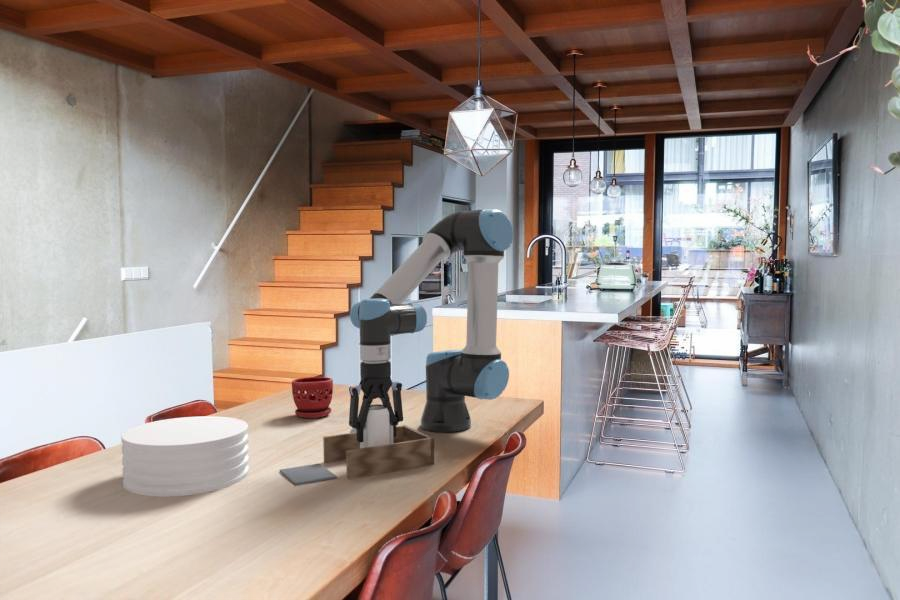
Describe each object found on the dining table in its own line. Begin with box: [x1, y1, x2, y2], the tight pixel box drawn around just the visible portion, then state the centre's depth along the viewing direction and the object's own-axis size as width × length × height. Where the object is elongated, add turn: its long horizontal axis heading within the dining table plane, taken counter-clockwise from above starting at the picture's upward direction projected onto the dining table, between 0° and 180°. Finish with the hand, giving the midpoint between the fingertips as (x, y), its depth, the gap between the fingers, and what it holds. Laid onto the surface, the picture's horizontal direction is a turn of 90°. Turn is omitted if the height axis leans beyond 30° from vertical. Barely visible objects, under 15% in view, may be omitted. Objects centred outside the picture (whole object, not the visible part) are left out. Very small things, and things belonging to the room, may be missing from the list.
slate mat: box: [279, 463, 338, 486], centre depth 173 cm, size 10×12×1 cm
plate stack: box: [120, 415, 250, 497], centre depth 172 cm, size 28×28×12 cm
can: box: [364, 403, 390, 447], centre depth 181 cm, size 6×6×12 cm
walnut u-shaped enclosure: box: [322, 424, 435, 480], centre depth 182 cm, size 23×16×6 cm
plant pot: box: [291, 376, 334, 419], centre depth 235 cm, size 13×13×12 cm
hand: (376, 452), depth 182 cm, fingers closed on can, 6 cm apart
